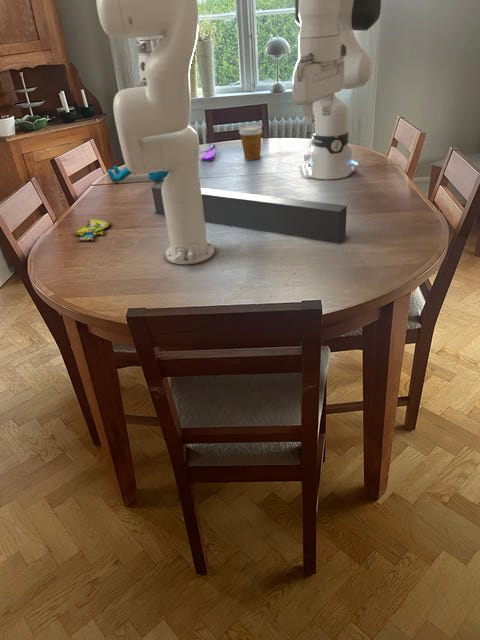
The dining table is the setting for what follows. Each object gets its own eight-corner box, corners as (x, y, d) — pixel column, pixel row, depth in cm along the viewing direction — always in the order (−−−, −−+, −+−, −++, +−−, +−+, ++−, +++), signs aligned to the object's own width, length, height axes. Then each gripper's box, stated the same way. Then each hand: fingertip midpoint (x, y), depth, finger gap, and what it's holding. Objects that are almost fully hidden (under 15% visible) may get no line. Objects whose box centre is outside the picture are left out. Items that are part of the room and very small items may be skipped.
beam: (156, 213, 153) (151, 187, 148) (165, 208, 156) (160, 182, 151) (338, 243, 123) (340, 211, 119) (345, 236, 126) (346, 205, 122)
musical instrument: (187, 168, 197) (231, 153, 201) (185, 163, 196) (230, 148, 200) (173, 159, 217) (213, 146, 221) (171, 155, 216) (212, 141, 220)
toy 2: (118, 158, 191) (184, 137, 181) (129, 184, 196) (194, 165, 186) (99, 171, 177) (170, 149, 167) (111, 198, 182) (181, 178, 172)
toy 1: (64, 237, 138) (89, 218, 150) (65, 240, 139) (90, 221, 151) (95, 238, 136) (118, 218, 148) (96, 241, 136) (119, 221, 148)
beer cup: (238, 160, 197) (235, 130, 191) (244, 154, 205) (242, 125, 198) (260, 160, 194) (258, 129, 188) (266, 154, 202) (264, 124, 195)
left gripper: (141, 50, 118) (153, 123, 128) (183, 43, 130) (192, 111, 140) (119, 51, 122) (132, 122, 131) (162, 44, 134) (172, 110, 143)
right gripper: (312, 56, 96) (311, 129, 103) (350, 46, 110) (347, 111, 117) (284, 57, 99) (285, 128, 106) (324, 47, 113) (323, 110, 120)
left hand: (163, 116), depth 135 cm, fingers open, 9 cm apart
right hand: (318, 119), depth 112 cm, fingers open, 8 cm apart
